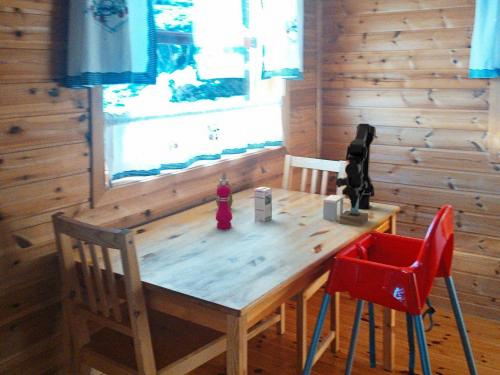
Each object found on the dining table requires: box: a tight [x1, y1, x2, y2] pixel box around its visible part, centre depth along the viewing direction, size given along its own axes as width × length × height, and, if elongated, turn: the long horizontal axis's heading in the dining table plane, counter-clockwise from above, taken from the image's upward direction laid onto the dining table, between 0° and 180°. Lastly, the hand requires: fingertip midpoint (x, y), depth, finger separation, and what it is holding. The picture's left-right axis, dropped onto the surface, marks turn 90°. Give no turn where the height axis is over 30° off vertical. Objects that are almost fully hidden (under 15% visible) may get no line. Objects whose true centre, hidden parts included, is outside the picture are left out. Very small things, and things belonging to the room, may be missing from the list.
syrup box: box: [253, 186, 273, 222], centre depth 250 cm, size 6×6×14 cm
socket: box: [339, 210, 369, 227], centre depth 247 cm, size 10×10×4 cm
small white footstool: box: [322, 194, 344, 221], centre depth 255 cm, size 10×6×9 cm, turn 153°
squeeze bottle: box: [215, 171, 234, 210], centre depth 267 cm, size 8×8×18 cm
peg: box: [349, 198, 359, 214], centre depth 245 cm, size 3×3×8 cm
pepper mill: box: [215, 182, 233, 230], centre depth 238 cm, size 7×7×20 cm
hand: (354, 206), depth 246 cm, fingers closed on peg, 3 cm apart
